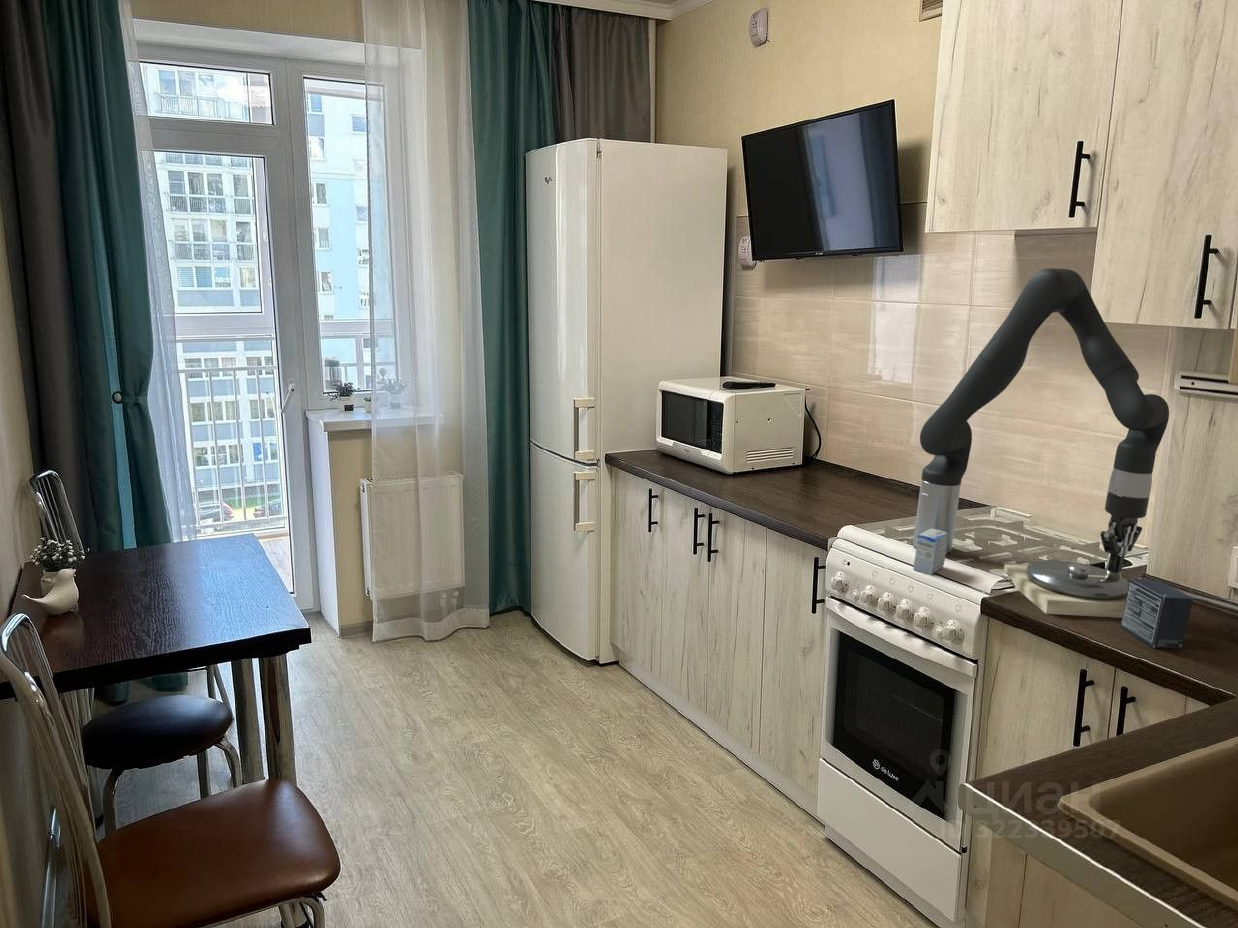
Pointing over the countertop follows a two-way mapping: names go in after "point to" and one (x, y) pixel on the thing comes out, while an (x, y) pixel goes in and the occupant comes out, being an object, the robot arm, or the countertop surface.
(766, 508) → the countertop surface
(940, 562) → the medicine box
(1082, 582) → the handwheel
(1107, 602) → the wheel base
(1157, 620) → the small box
